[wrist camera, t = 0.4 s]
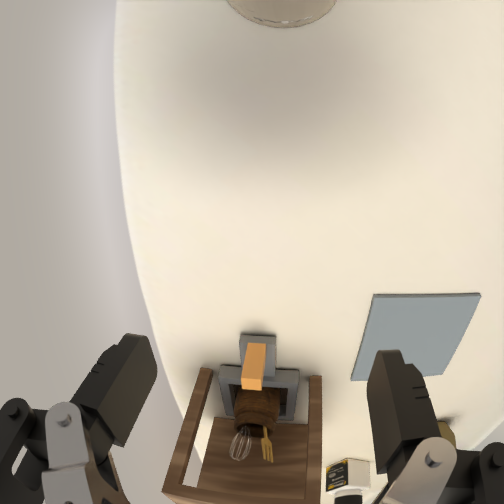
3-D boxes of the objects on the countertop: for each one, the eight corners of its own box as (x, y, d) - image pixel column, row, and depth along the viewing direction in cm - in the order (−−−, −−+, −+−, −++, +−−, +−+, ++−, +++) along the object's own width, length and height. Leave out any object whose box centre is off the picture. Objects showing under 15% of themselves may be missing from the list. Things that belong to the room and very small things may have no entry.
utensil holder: (229, 385, 40) (212, 459, 29) (262, 369, 37) (250, 452, 27) (258, 403, 41) (247, 474, 31) (291, 390, 38) (285, 467, 28)
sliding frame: (215, 332, 34) (202, 373, 29) (302, 337, 33) (301, 381, 27) (228, 404, 42) (220, 438, 36) (294, 409, 40) (291, 444, 35)
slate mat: (373, 294, 29) (374, 297, 29) (479, 293, 27) (481, 295, 27) (350, 378, 36) (350, 381, 35) (441, 371, 34) (442, 374, 34)
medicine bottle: (347, 457, 50) (347, 506, 40) (369, 461, 51) (371, 507, 40) (325, 467, 53) (324, 512, 43) (348, 470, 54) (348, 513, 44)
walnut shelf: (200, 367, 38) (161, 491, 22) (321, 376, 36) (319, 511, 20) (215, 421, 46) (191, 515, 30) (309, 428, 44) (303, 527, 28)
